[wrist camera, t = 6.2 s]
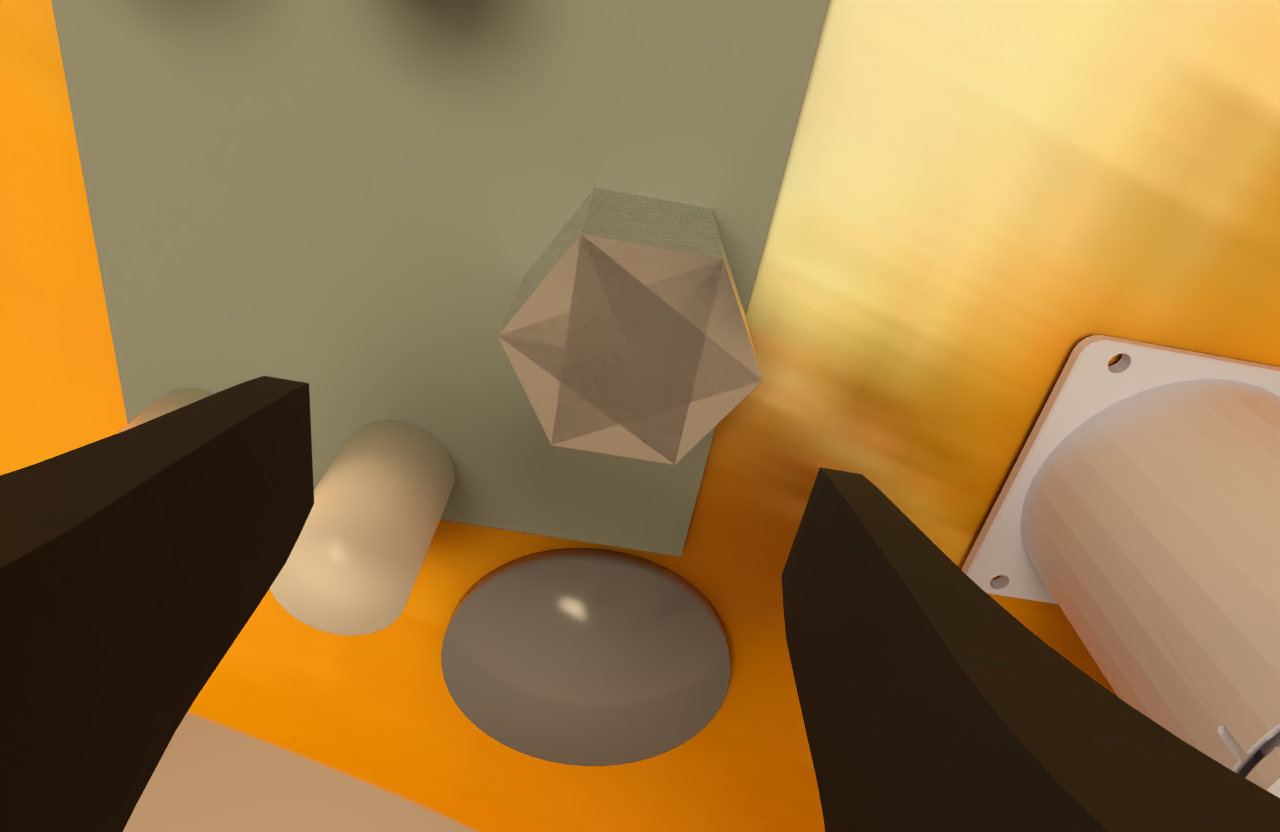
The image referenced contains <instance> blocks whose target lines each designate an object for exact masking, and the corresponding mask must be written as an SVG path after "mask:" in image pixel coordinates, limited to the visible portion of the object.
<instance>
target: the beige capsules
mask: <svg viewBox="0 0 1280 832" xmlns="http://www.w3.org/2000/svg"><path fill="white" fill-rule="evenodd" d="M213 394H215V393H214V392H211V391H208V390H203V389H196V388H184V389H177V390H173V391H170V392H168V393H166V394H164V395H163V396H161V397H160V398H158V399H157V400H156V401H155V402H154V403H153V404H151V405H150V406H149V407H148V408H147V409H145V410H144V411H143V412H142V413H141V414H139V415H138V416H137V417H136V418H135V419H133V420H132V421H131V422H130V423H129V424H127V425H126V426H125V427H124V428H123V429H121V430H120V431H119V432H118V433H120V432H123V431H125V430H128V429H130V428H133V427H135V426H138V425H140V424H143V423H145V422H147V421H150V420H152V419H155V418H157V417H160V416H162V415H164V414H167V413H169V412H172V411H174V410H177V409H179V408H181V407H184V406H186V405H189V404H191V403H193V402H196V401H198V400H201V399H203V398H205V397H208V396H210V395H213ZM118 433H117V434H118ZM454 482H455V469H454V464H453V461H452V459H451V456H450V454H449V453H448V451H447V450H446V448H445V447H444V446H443V444H442V443H441V442H440V441H439V440H438V439H437V438H436V437H434V436H433V435H432V434H430V433H429V432H427V431H425V430H424V429H422V428H420V427H418V426H415V425H412V424H409V423H406V422H401V421H393V420H387V421H377V422H373V423H370V424H367V425H365V426H363V427H361V428H359V429H358V430H357V431H355V432H354V433H353V434H352V435H351V436H350V437H349V439H348V440H347V442H346V443H345V445H344V446H343V448H342V449H341V451H340V452H339V454H338V455H337V457H336V458H335V460H334V461H333V463H332V464H331V466H330V467H329V468H328V470H327V471H326V473H325V474H324V476H323V477H322V479H321V480H320V482H319V483H318V485H317V486H316V488H315V489H314V505H313V507H312V509H311V512H310V514H309V516H308V518H307V520H306V522H305V525H304V527H303V529H302V531H301V533H300V535H299V538H298V540H297V542H296V544H295V546H294V548H293V550H292V552H291V554H290V556H289V558H288V560H287V562H286V564H285V565H284V567H283V568H282V570H281V571H280V573H279V574H278V576H277V578H276V579H275V581H274V582H273V584H272V585H271V587H270V589H271V591H272V593H273V595H274V597H275V598H276V599H277V601H278V602H279V603H280V604H281V606H282V607H283V608H284V609H285V610H286V611H287V612H289V613H290V614H291V615H292V616H294V617H295V618H296V619H298V620H300V621H301V622H303V623H305V624H307V625H309V626H311V627H313V628H316V629H319V630H321V631H325V632H328V633H333V634H338V635H365V634H369V633H374V632H377V631H380V630H382V629H384V628H386V627H387V626H389V625H391V624H392V623H393V622H394V621H395V620H397V619H398V617H399V616H400V615H401V613H402V612H403V610H404V608H405V605H406V603H407V600H408V598H409V595H410V593H411V590H412V588H413V585H414V583H415V581H416V578H417V576H418V573H419V571H420V568H421V566H422V563H423V561H424V558H425V556H426V553H427V551H428V548H429V546H430V543H431V541H432V538H433V536H434V533H435V531H436V529H437V526H438V524H439V521H440V519H441V516H442V514H443V511H444V509H445V506H446V504H447V501H448V499H449V496H450V494H451V491H452V489H453V486H454Z"/></svg>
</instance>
